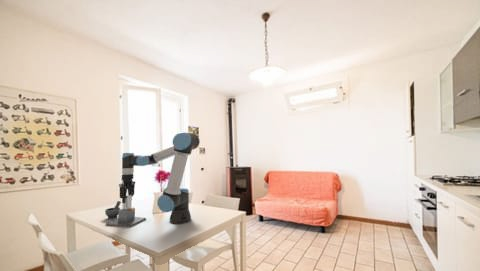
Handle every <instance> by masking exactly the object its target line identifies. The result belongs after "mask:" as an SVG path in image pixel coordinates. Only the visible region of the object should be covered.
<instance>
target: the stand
mask: <svg viewBox="0 0 480 271" xmlns="http://www.w3.org/2000/svg"><path fill="white" fill-rule="evenodd" d="M135 215H136V208H135V207H131V209H129V210H122V208H120V210H119V212H118V215H117V218H116V219H111V220H110V221H108V222H107V221H106V222H105V226H106V227H107V226H111V227H121V228H132V227H134V226H136V225H138V224H140V223H142V222H145V221H146V220H147V217H141V216H135Z"/></svg>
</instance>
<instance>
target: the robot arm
mask: <svg viewBox="0 0 480 271" xmlns="http://www.w3.org/2000/svg"><path fill="white" fill-rule="evenodd" d="M199 146H200V138H199V136H198V135H197V134H196V133H195V134H194V133H191V132H185V131H184V132H178V133H177V134H176V133H175V135H174V136H173V138H172V145H171V146H168V147H166V148H163V149H161V150H159V151H156V152H153V153H152V154H141V155H140V154H138V155H135V153H134V152H123V153H122V156H121V167H122V168H121V180H122V181H121V183H119V184H118V186H119V198H120V199H121V203H122V207H121V209H122V208H126V207H127V198H126V195H132V197H134V195H135V185H136V181H133V179H134V169H135V168H134V167H136V166H137V167H144V166H151V165H152V166H153V165H157V164H158V163H159V162H162V161H165V160H166V159H169V158H172V157H173V160H172V165H171V169H170V174H169V177H168V181H167V186H166V187H165V188H163V192H162V194H161V195H160V196H159V197H158V198H157V200H156V201H157V202H156V204H157V207H158V209H159V210H160V211H161V212H162V213H170V212H171V213H170V216H169V222H170V223H171V224H176V223H178V224H184V222H185V223H188V222H190V221H191V220H192V215H191V212H190V208H189V206H190V204H189V202H190V200H189V198H190V196H189V195H190V193H189V192H190V191H189V189H188V188H185V187H182V188H181V186H182V181H183V178H184V173H185V169H186V165H187V161H188V158H189V156H190V155H191V154H192V151H193V150H195V149H197V148H198V147H199ZM127 193H128V194H127ZM131 202H133V198H132V199H131Z"/></svg>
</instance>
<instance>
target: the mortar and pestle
mask: <svg viewBox="0 0 480 271" xmlns="http://www.w3.org/2000/svg"><path fill="white" fill-rule="evenodd" d="M121 203H122V201H120V200H118V201H116V204H115V205H114V207H109V208H107V209H105V210H104V212H105V215H106V216H107V220H110V221H112V220H115V219H118V212H119V210H120V209H121V208H120V205H121Z"/></svg>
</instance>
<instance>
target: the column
mask: <svg viewBox="0 0 480 271" xmlns="http://www.w3.org/2000/svg"><path fill="white" fill-rule="evenodd" d="M126 198H127V207H126V208H122V207H121V209H122V210H129V209H131V208H132V201H131V199H132V200H133V196H132V195H128V194H126Z"/></svg>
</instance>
